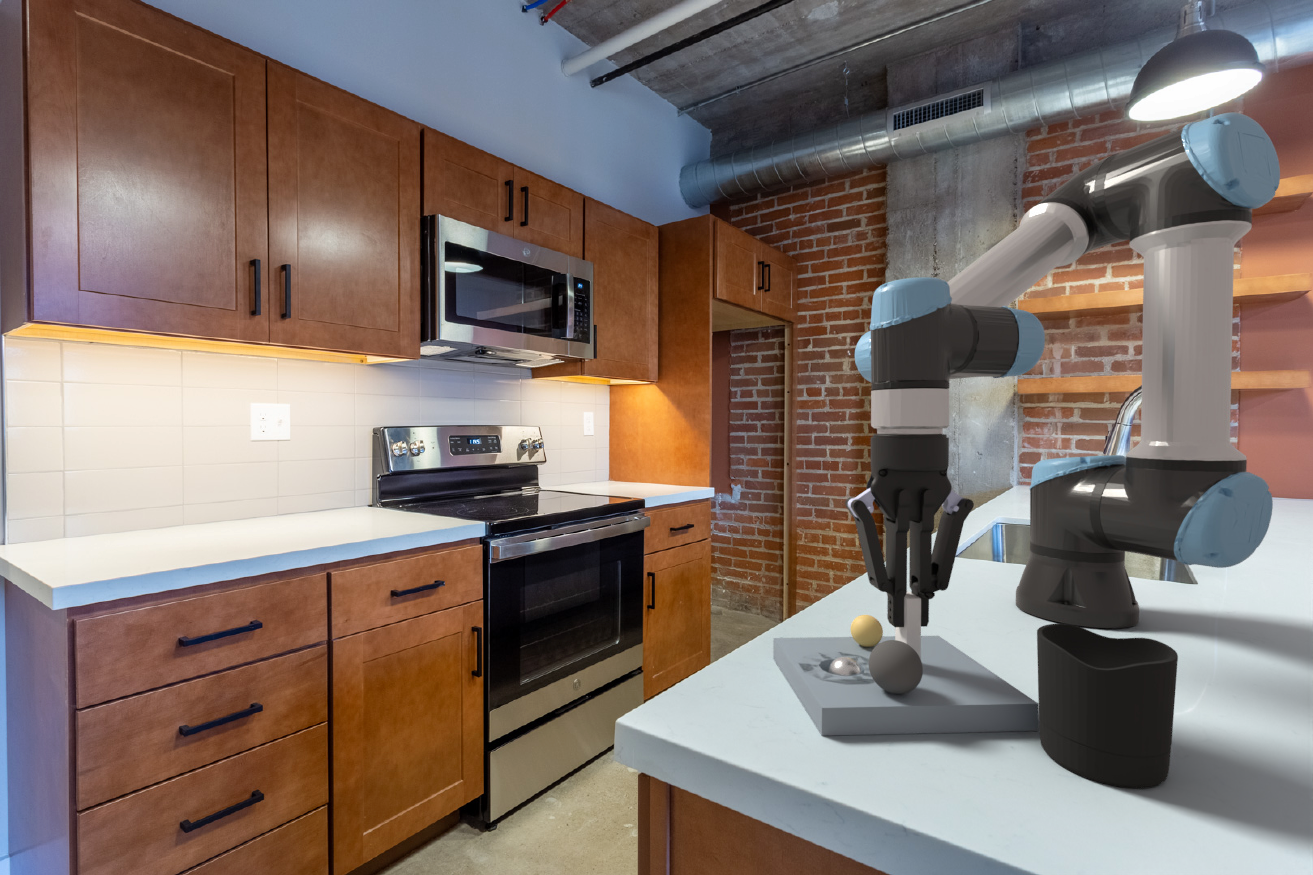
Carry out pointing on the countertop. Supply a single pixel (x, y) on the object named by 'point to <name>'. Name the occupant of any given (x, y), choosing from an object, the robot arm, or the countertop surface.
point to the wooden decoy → (866, 630)
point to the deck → (939, 704)
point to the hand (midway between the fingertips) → (907, 656)
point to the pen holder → (1106, 704)
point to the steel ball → (845, 667)
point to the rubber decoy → (895, 667)
